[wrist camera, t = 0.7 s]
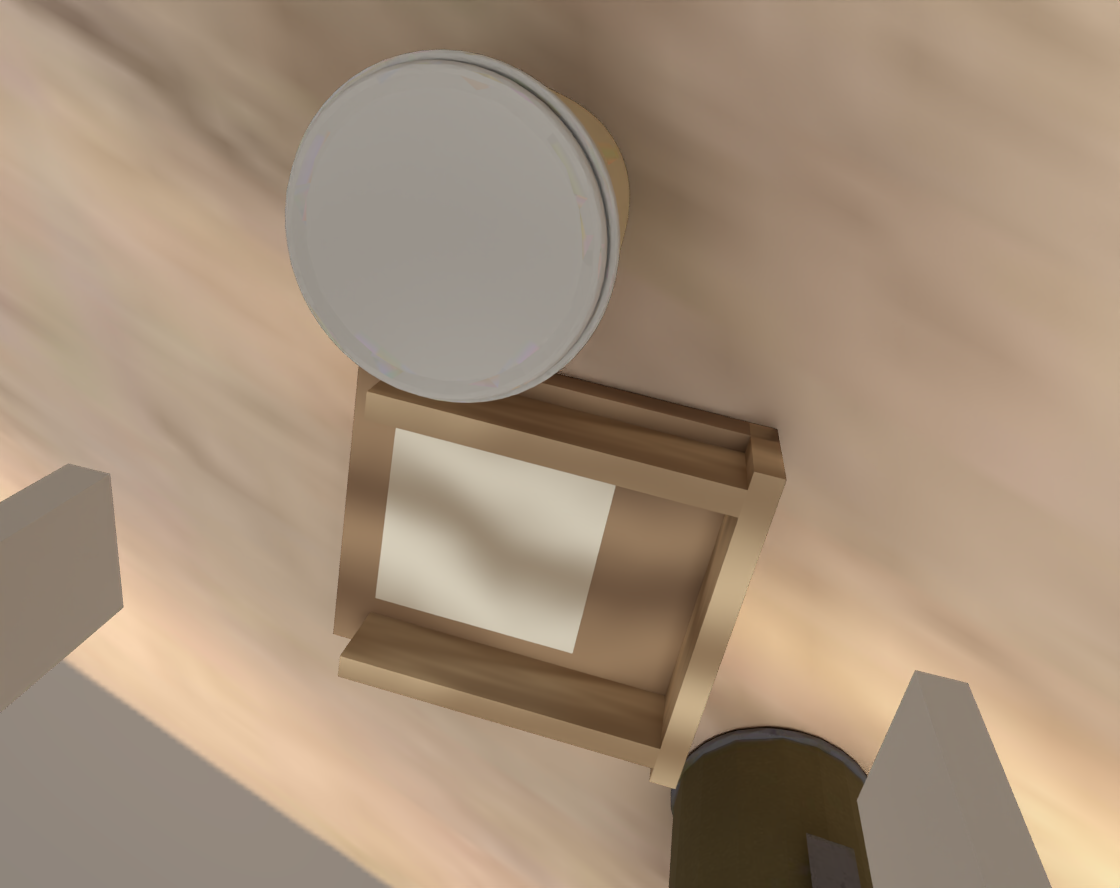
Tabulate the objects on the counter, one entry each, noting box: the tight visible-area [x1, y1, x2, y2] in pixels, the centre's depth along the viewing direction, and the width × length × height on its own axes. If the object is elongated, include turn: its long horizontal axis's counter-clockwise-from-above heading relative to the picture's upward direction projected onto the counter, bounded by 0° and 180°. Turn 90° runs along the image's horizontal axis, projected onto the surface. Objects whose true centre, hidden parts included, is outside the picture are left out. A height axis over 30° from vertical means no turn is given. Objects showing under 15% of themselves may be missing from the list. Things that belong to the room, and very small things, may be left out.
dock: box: [333, 366, 786, 789], centre depth 36 cm, size 16×18×5 cm
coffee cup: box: [285, 49, 630, 403], centre depth 26 cm, size 9×9×12 cm
